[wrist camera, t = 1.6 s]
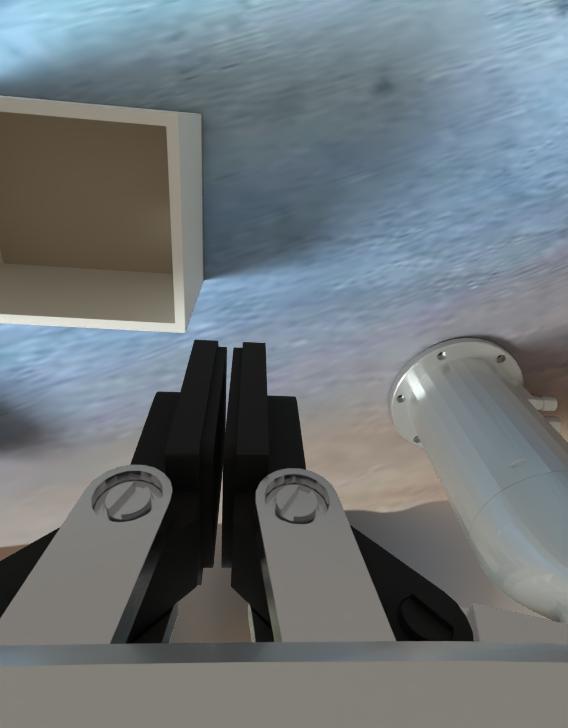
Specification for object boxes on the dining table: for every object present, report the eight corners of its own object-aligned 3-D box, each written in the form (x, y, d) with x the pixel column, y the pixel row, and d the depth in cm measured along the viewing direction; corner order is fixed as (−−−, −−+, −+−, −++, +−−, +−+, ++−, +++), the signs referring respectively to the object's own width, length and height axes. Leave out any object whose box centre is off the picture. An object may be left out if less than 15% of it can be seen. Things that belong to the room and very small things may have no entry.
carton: (202, 113, 30) (177, 113, 22) (203, 280, 36) (185, 332, 28) (-42, 91, 29) (-170, 82, 21) (1, 267, 35) (-86, 318, 26)
